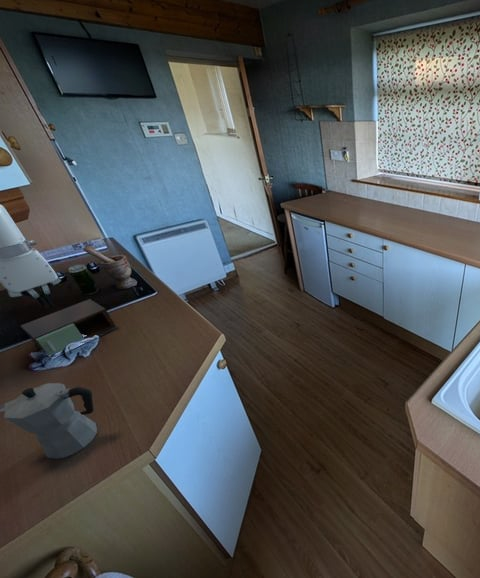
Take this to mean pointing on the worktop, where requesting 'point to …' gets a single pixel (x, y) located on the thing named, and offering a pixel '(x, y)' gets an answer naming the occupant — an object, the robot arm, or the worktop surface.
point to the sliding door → (59, 339)
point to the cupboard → (73, 321)
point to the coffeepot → (53, 418)
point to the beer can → (83, 279)
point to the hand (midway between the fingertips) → (48, 305)
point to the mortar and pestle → (115, 268)
